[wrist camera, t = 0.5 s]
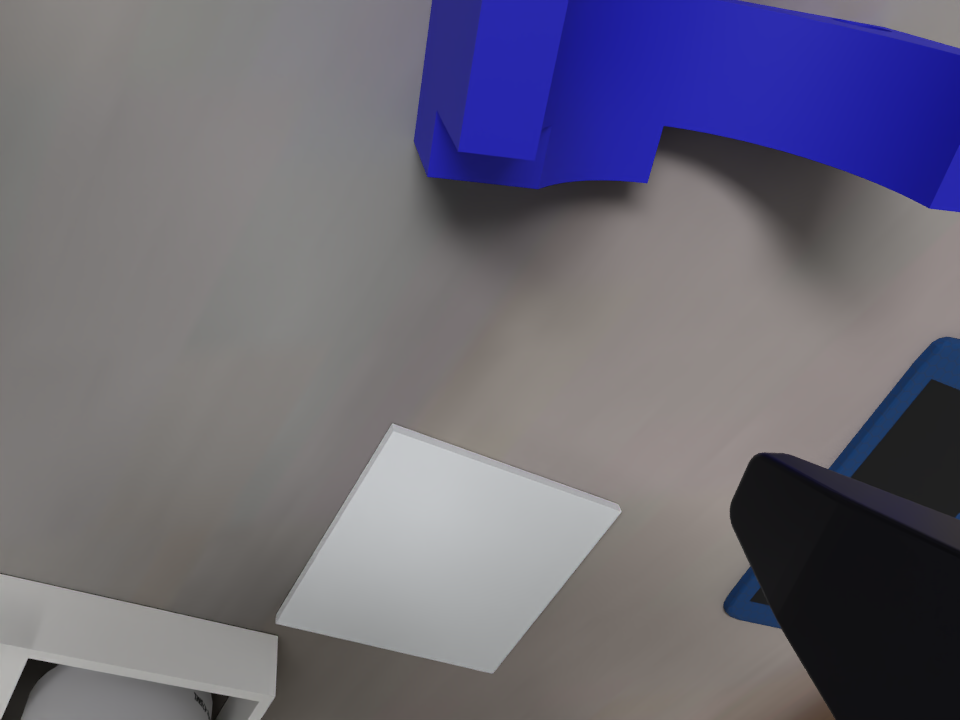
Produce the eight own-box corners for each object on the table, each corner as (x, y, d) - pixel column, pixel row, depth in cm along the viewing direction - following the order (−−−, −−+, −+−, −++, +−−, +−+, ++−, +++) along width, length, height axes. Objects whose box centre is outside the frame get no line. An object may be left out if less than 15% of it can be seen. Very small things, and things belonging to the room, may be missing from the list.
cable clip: (412, 138, 21) (445, 227, 16) (438, -55, 18) (486, -25, 13) (816, 188, 23) (954, 276, 18) (880, 26, 21) (1056, 76, 16)
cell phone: (1066, 382, 30) (1082, 394, 29) (840, 631, 36) (849, 645, 35) (932, 324, 27) (947, 335, 27) (711, 604, 33) (719, 618, 32)
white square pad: (275, 614, 28) (275, 623, 28) (392, 423, 25) (393, 431, 24) (490, 665, 32) (492, 673, 31) (618, 503, 28) (621, 511, 28)
